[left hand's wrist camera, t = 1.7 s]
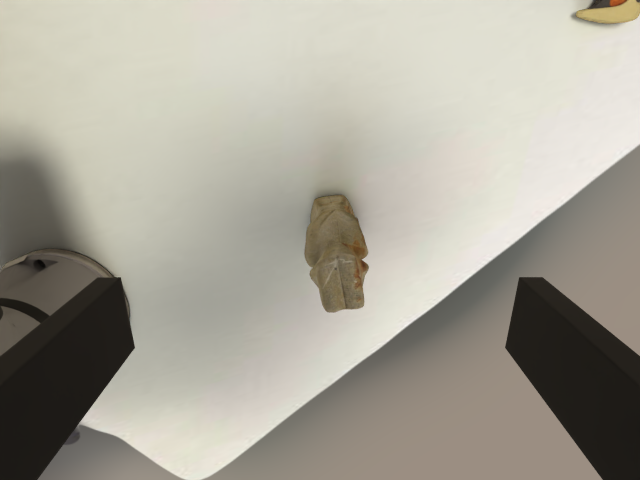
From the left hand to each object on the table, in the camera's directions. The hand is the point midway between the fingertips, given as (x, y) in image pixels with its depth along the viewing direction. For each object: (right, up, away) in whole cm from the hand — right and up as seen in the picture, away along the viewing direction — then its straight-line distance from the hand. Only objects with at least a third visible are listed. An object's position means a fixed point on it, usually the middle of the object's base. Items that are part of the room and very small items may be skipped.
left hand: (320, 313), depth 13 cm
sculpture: (+2, +5, +31) cm, 31 cm away
